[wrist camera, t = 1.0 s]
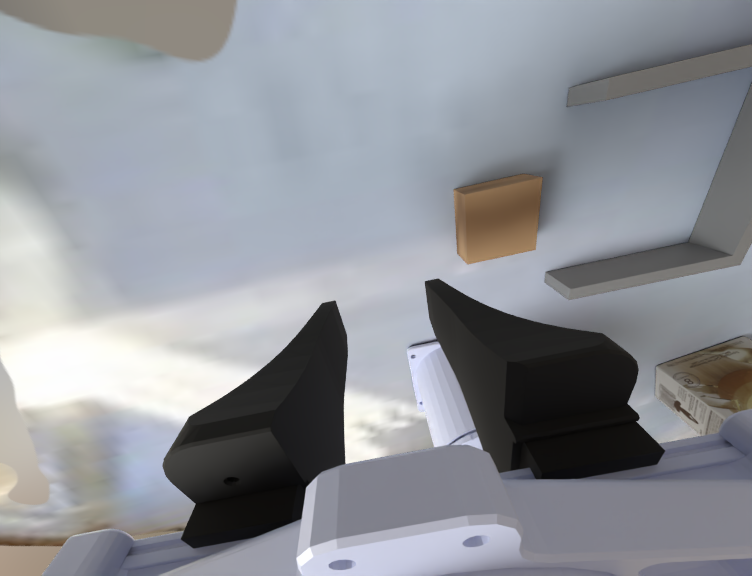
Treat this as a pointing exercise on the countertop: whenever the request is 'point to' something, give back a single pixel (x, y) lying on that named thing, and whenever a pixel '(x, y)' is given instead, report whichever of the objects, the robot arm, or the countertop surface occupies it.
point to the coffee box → (708, 384)
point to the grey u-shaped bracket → (721, 207)
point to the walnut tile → (497, 217)
